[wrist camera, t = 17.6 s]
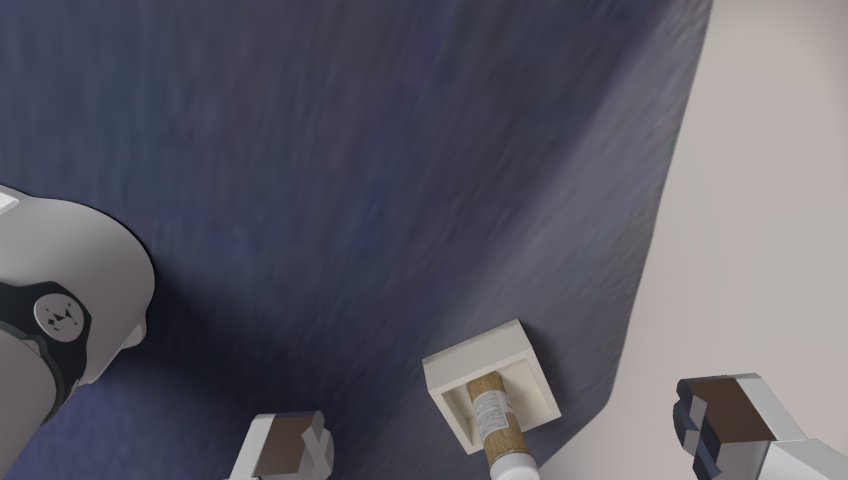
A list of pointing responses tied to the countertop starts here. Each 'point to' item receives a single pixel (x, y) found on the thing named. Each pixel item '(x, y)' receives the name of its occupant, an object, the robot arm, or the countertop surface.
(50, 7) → the countertop surface
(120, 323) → the robot arm
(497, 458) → the sprinkles bottle
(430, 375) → the box
